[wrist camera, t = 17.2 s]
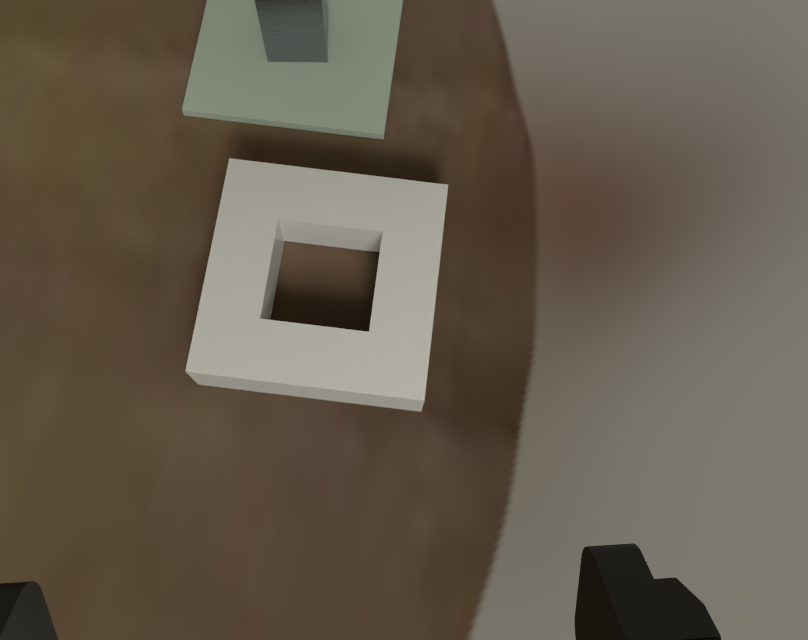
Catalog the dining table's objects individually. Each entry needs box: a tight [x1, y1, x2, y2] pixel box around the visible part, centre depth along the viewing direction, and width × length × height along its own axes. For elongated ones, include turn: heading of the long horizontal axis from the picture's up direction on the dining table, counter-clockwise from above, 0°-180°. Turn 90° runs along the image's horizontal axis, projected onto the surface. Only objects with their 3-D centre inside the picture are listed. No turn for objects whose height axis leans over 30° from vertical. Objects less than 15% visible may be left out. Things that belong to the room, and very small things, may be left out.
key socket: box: [185, 158, 448, 412], centre depth 42 cm, size 12×12×3 cm
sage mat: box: [182, 0, 403, 140], centre depth 48 cm, size 12×12×1 cm
